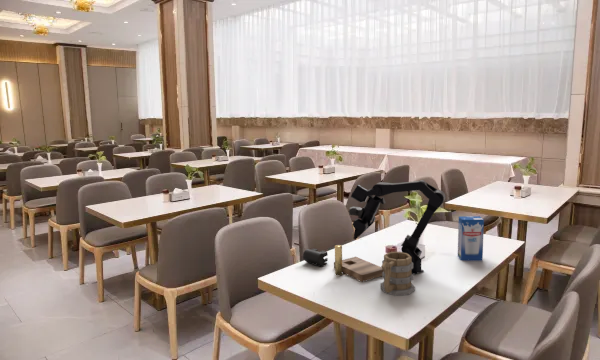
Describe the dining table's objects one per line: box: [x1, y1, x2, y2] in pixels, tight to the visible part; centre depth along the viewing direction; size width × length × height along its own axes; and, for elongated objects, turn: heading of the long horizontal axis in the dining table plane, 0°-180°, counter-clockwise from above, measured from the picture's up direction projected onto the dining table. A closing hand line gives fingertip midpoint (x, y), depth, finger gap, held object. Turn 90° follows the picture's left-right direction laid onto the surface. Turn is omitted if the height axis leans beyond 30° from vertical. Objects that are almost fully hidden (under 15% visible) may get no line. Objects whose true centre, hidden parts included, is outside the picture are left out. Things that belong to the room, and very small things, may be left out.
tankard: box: [380, 251, 416, 296], centre depth 170 cm, size 20×13×15 cm, turn 141°
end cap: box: [302, 248, 329, 267], centre depth 205 cm, size 10×7×7 cm
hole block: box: [333, 256, 384, 283], centre depth 193 cm, size 20×13×3 cm, turn 32°
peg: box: [334, 244, 343, 276], centre depth 190 cm, size 3×3×13 cm
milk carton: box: [457, 215, 485, 262], centre depth 205 cm, size 10×6×20 cm, turn 84°
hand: (357, 236), depth 201 cm, fingers open, 9 cm apart
